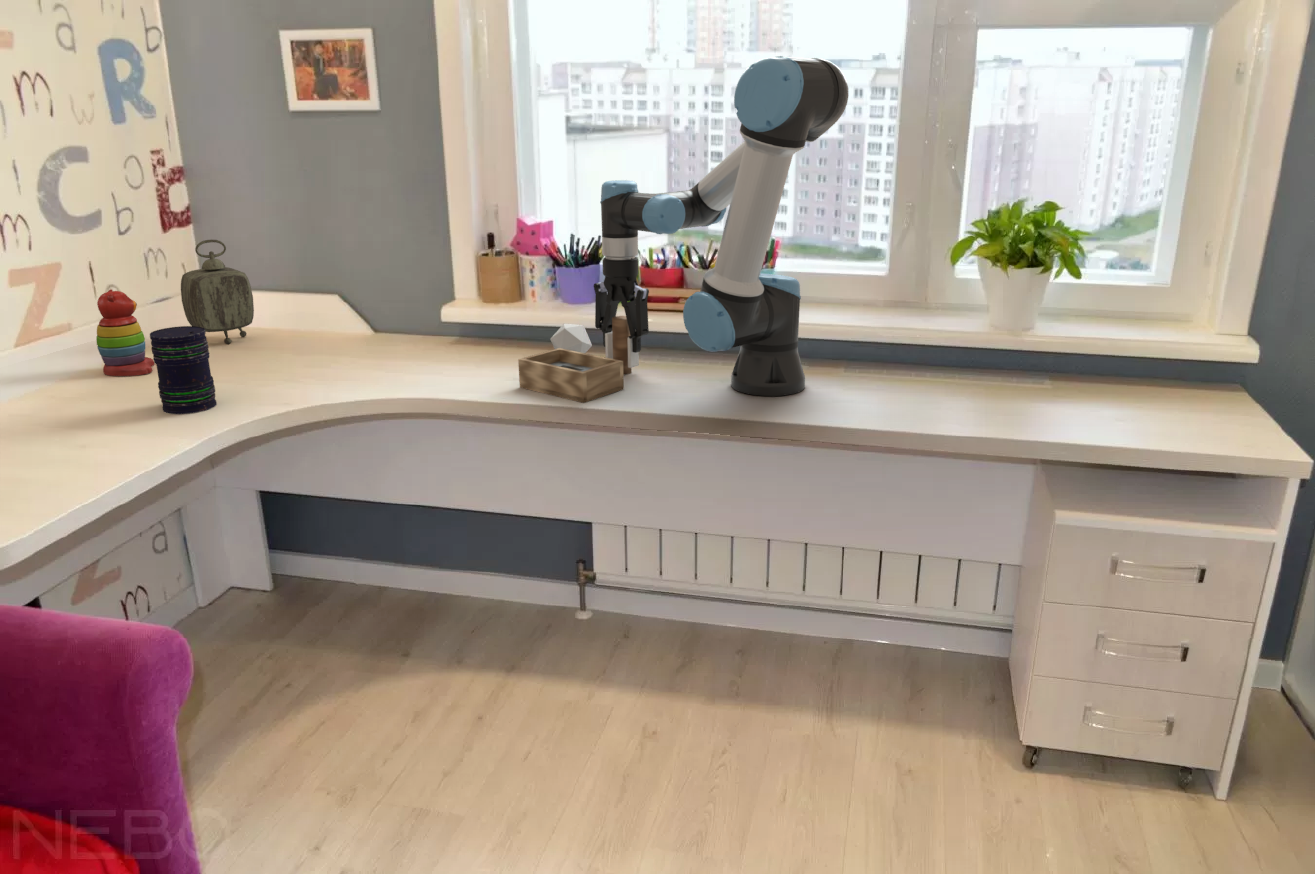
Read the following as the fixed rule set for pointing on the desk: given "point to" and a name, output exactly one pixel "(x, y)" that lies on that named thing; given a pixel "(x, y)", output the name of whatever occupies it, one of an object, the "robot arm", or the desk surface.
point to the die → (571, 338)
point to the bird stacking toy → (121, 337)
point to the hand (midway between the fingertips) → (622, 363)
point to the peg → (621, 341)
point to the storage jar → (183, 369)
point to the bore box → (571, 374)
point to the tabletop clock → (217, 296)
